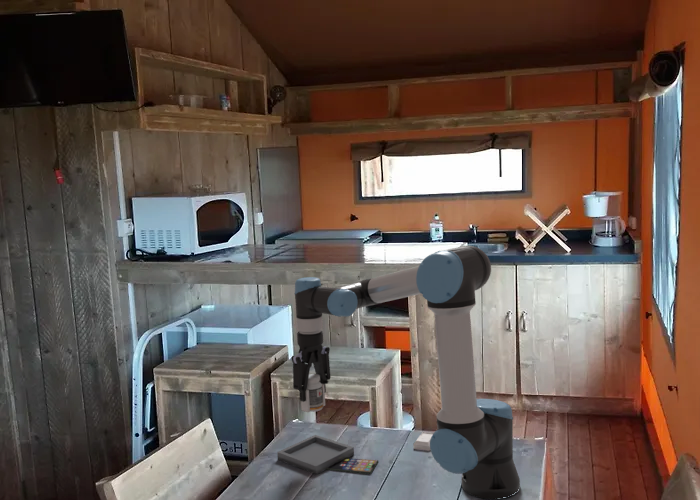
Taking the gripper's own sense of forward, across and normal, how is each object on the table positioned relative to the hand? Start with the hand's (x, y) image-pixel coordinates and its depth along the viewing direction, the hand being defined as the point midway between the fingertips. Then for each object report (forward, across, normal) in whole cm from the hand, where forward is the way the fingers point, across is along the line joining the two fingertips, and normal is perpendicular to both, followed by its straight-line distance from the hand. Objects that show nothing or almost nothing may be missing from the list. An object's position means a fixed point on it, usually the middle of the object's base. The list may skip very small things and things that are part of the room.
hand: (313, 407), depth 204 cm
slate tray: (+15, 0, 0) cm, 15 cm away
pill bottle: (+1, 0, 0) cm, 1 cm away
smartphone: (+16, -2, +12) cm, 20 cm away
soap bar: (+16, -27, +20) cm, 37 cm away
